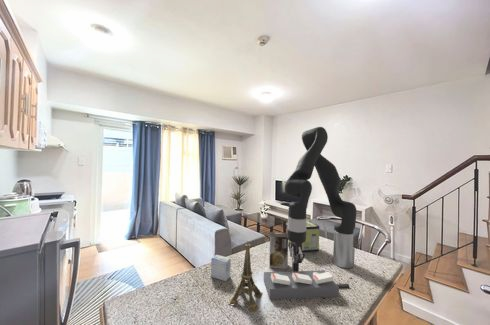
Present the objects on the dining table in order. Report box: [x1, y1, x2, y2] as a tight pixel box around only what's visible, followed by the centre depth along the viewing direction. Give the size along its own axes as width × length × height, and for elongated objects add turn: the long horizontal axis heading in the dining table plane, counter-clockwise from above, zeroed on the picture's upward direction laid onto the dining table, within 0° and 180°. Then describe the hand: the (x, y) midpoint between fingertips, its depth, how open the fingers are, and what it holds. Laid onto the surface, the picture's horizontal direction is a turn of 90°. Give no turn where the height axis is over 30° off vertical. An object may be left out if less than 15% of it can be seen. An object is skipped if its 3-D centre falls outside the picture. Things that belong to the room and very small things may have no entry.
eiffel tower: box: [228, 242, 263, 313], centre depth 78 cm, size 11×11×25 cm
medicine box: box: [210, 254, 232, 282], centre depth 92 cm, size 8×4×9 cm, turn 65°
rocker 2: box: [292, 273, 312, 284], centre depth 83 cm, size 7×4×2 cm, turn 96°
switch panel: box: [263, 270, 350, 300], centre depth 86 cm, size 36×12×5 cm, turn 96°
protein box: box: [288, 220, 320, 254], centre depth 125 cm, size 10×16×16 cm
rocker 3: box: [313, 271, 334, 284], centre depth 84 cm, size 7×4×2 cm, turn 96°
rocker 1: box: [271, 273, 290, 285], centre depth 82 cm, size 7×4×2 cm, turn 96°
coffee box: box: [268, 231, 289, 270], centre depth 104 cm, size 9×6×16 cm
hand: (295, 270), depth 83 cm, fingers closed
